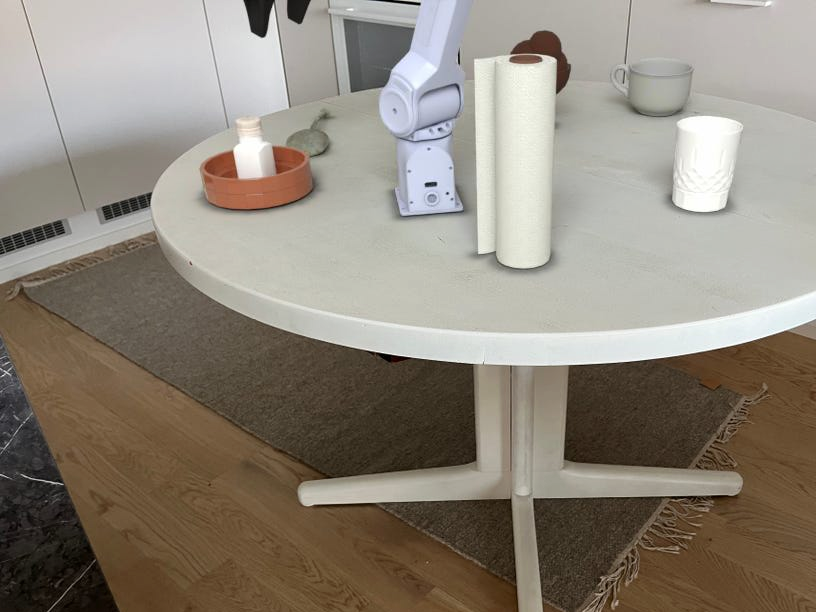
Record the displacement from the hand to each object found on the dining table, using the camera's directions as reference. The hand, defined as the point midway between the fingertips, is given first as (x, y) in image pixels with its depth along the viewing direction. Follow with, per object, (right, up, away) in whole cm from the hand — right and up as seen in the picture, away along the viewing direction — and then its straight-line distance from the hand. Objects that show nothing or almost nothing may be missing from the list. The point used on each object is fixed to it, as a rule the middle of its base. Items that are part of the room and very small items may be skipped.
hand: (276, 27), depth 109 cm
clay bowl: (-2, -23, -2) cm, 23 cm away
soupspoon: (+1, -9, +20) cm, 22 cm away
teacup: (+58, -3, +29) cm, 65 cm away
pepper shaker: (-2, -23, -2) cm, 23 cm away
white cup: (+56, -26, -8) cm, 62 cm away
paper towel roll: (+33, -35, -21) cm, 52 cm away
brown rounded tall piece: (+38, -7, +23) cm, 45 cm away
